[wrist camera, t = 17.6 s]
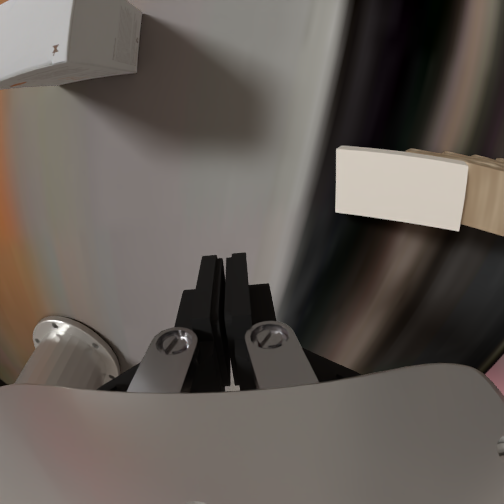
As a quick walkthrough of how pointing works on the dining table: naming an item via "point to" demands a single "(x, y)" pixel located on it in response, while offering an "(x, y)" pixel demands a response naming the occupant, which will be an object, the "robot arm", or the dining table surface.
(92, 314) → the dining table surface
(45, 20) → the small box
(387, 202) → the domino
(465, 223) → the domino
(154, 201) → the dining table surface
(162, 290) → the dining table surface
